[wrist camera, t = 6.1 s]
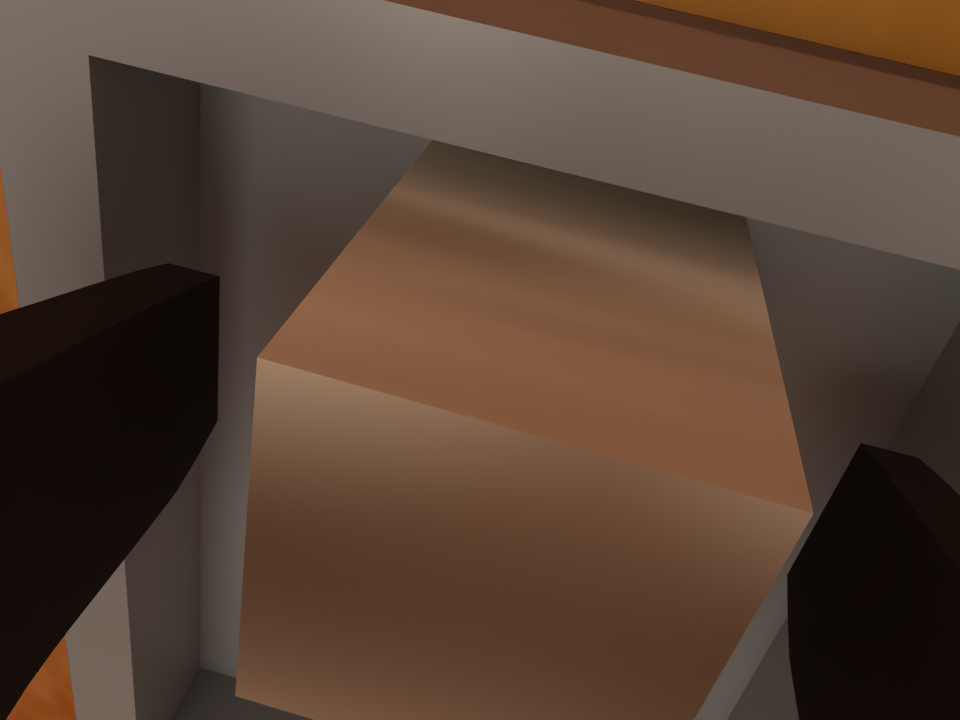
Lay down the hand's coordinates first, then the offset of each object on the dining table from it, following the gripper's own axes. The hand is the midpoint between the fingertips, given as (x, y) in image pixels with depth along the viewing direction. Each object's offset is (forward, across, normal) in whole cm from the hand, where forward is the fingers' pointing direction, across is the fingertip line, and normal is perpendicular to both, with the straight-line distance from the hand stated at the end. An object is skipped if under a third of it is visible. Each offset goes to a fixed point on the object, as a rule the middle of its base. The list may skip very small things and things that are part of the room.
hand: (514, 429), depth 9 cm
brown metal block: (+3, 0, 0) cm, 3 cm away
